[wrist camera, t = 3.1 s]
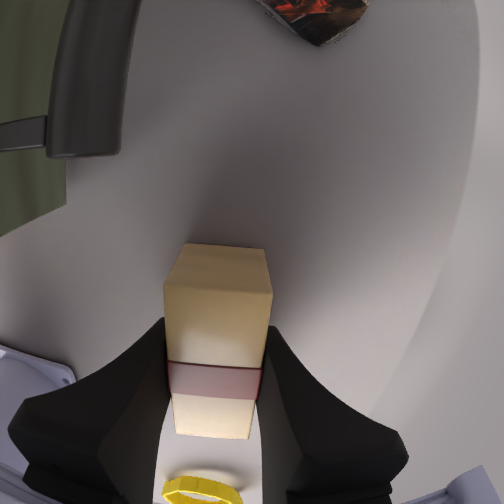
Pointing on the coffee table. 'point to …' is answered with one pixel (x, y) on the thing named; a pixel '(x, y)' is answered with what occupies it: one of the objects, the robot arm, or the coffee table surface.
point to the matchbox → (317, 17)
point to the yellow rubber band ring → (199, 491)
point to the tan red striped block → (216, 338)
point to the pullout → (58, 95)
